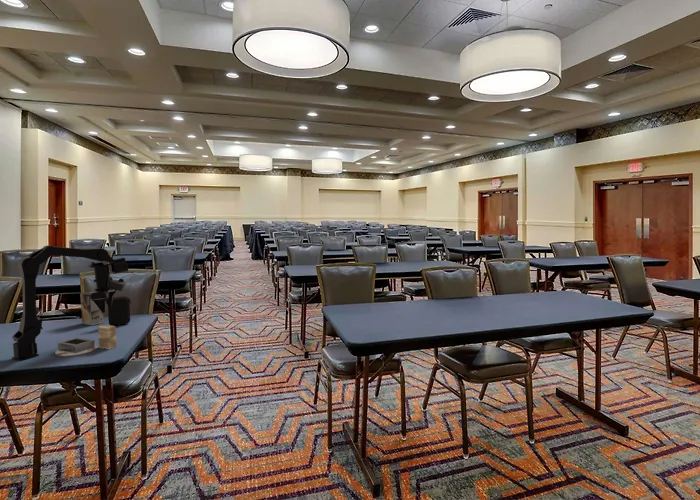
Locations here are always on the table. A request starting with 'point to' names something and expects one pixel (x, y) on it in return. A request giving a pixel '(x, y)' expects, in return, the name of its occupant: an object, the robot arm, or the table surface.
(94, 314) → the coffee box
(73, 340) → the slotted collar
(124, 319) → the carrying case or bag
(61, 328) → the table surface
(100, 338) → the light wood block
